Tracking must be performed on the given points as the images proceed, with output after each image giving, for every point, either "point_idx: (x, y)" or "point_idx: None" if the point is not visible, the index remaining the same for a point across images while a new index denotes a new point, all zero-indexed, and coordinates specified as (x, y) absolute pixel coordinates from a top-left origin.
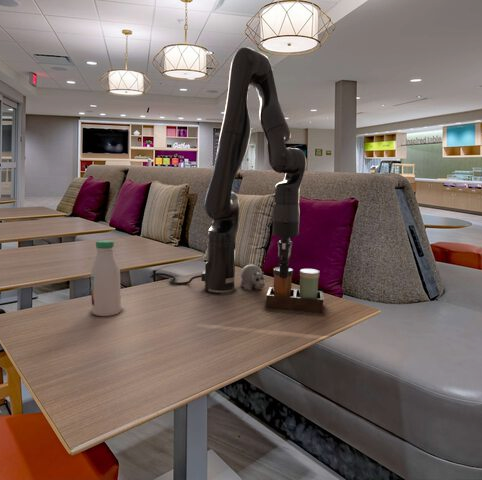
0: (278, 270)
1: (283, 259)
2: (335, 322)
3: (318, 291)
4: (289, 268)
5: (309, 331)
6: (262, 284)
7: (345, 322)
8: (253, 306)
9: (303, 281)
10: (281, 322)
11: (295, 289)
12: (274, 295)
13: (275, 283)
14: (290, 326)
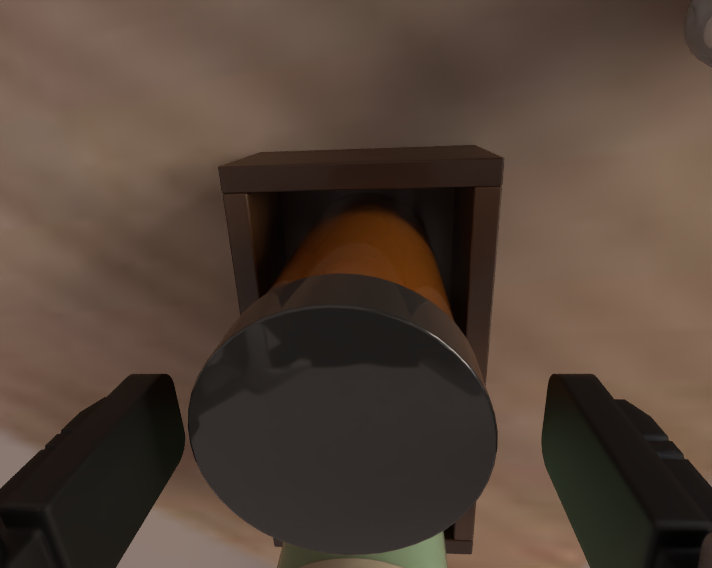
0: (218, 387)
1: (641, 542)
2: (221, 511)
3: (461, 533)
4: (410, 520)
5: (48, 409)
6: (703, 43)
7: (239, 545)
8: (322, 34)
9: (288, 544)
10: (94, 275)
11: None
12: (239, 239)
13: (286, 269)
14: (62, 325)
